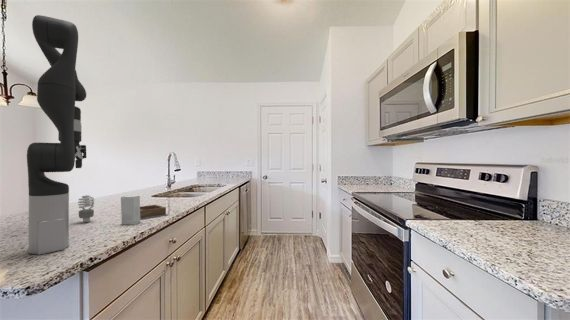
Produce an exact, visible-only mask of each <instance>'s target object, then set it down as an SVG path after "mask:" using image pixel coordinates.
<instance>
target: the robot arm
mask: <svg viewBox="0 0 570 320" xmlns="http://www.w3.org/2000/svg"><path fill="white" fill-rule="evenodd" d="M31 28H32V34H33V36H34V38H35V41H36V43H37V45H38V47H39V49H40V50H41V52H42V53H43V55H44V56H45V57H44V58H45V59H46V60H47V62H48V64H49V65H50V67H49V68H48V69H47V70H45V72H44V73H42V74H41V76H40V77H39V78H38V81H37V92H36V93H37V94H36V102H37V103H38V105H39V107H40V109H41V110H42V111H43V112H44V114H45V115H46V116H47V117H48V119H49V120H50V121H51V122H52V124H53V125H54V126H55V128H56V130H57V132H58V138H57V139H58V141H59V142H32V143H30V144H29V145H28V147H27V150H26V164H27V165H26V166H27V178H28V179H27V181H28V182H27V183H28V184H27V185H28V186H27V187H28V253H29V254H31V255H43V254H48V253H54V252H58V251H62V250H66V248H68V247H69V246H70V241H69V239H70V226H69V225H70V222H69V221H70V219H69V218H70V209H69V208H70V207H69V205H70V203H69V202H70V186H69V185H68V184H67V183H66V182H65V183H64V182H61V181H57V180H54V179H51V178H49V177H47V176H46V175H45V173H64V172H65V173H68V172H69V173H70V172H71V171H73V169H74V168H75V169H82V167H83V160H84V159H87V145H86V144H80V142H82V122H81V121H82V116H81V115H82V111H81V108H80V107H79V106H76V102H83V101H84V100H86V98H87V91H86V88H85V87H84V85H83V84H82V83H81V82H80V80H79V78H78V73H77V70H76V68H77V67H76V66H77V64H76V63H77V54H78V46H79V31H78V28H77V25H76V24H75V23H73V22H71V21H68V20H66V19H65V20H64V19H59V18H55V17H52V16H51V17H50V16H46V15H41V14H37V15H35V16H33V18H32V23H31ZM58 49H60V50H62V52H59V50H58Z"/></svg>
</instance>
